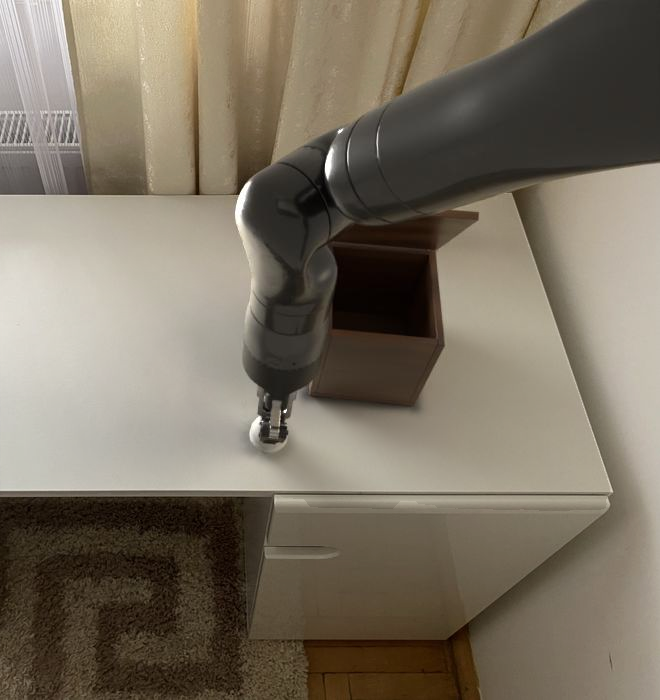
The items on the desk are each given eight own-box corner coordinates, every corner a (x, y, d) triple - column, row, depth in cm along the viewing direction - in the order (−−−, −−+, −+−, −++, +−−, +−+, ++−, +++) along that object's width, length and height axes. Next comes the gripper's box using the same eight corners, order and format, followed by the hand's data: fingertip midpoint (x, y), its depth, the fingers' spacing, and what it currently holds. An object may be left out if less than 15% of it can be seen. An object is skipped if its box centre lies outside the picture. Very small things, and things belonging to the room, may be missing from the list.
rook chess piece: (242, 444, 80) (246, 410, 73) (258, 414, 82) (263, 378, 75) (278, 460, 78) (285, 427, 72) (293, 429, 81) (301, 394, 74)
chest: (414, 406, 83) (445, 345, 72) (308, 395, 84) (324, 334, 73) (408, 316, 90) (435, 249, 80) (312, 307, 91) (326, 240, 81)
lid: (479, 220, 65) (483, 164, 65) (344, 209, 66) (349, 154, 66) (436, 250, 79) (440, 204, 80) (326, 241, 80) (330, 195, 81)
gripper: (324, 403, 59) (301, 485, 73) (327, 279, 67) (305, 375, 81) (237, 395, 60) (231, 478, 74) (250, 272, 68) (242, 369, 82)
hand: (270, 423), depth 77 cm, fingers closed on rook chess piece, 3 cm apart
